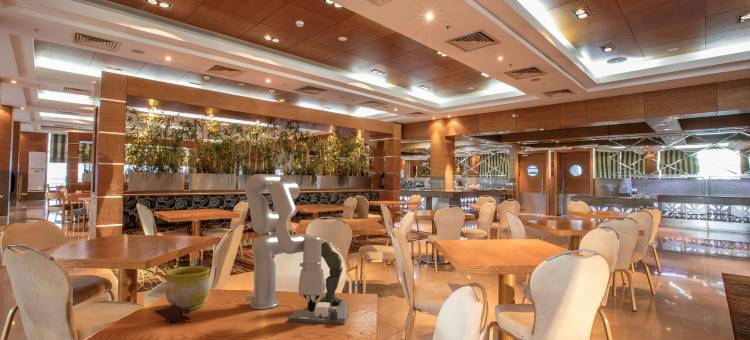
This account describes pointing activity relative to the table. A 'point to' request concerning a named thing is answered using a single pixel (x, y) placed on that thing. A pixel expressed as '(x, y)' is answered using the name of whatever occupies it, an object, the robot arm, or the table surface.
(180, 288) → the flowerpot
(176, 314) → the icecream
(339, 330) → the table surface
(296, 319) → the gauge base
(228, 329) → the table surface
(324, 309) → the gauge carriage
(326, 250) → the mechanical leg
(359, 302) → the table surface
